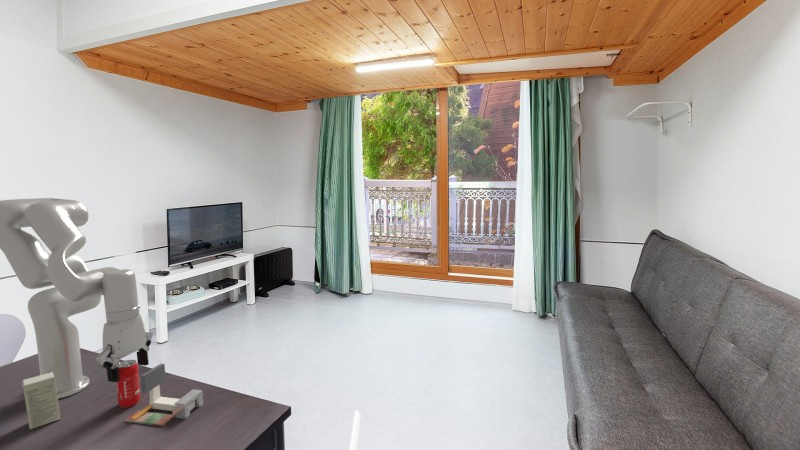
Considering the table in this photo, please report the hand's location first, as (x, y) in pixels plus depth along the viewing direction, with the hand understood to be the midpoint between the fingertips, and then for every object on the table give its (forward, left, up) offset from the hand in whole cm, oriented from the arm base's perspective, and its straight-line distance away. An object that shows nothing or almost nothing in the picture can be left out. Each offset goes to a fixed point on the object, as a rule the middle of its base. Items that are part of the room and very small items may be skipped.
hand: (129, 372), depth 111 cm
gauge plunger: (+13, -2, -9) cm, 16 cm away
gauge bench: (+13, -2, -9) cm, 16 cm away
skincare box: (-16, -11, -10) cm, 22 cm away
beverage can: (-1, 0, -10) cm, 10 cm away
